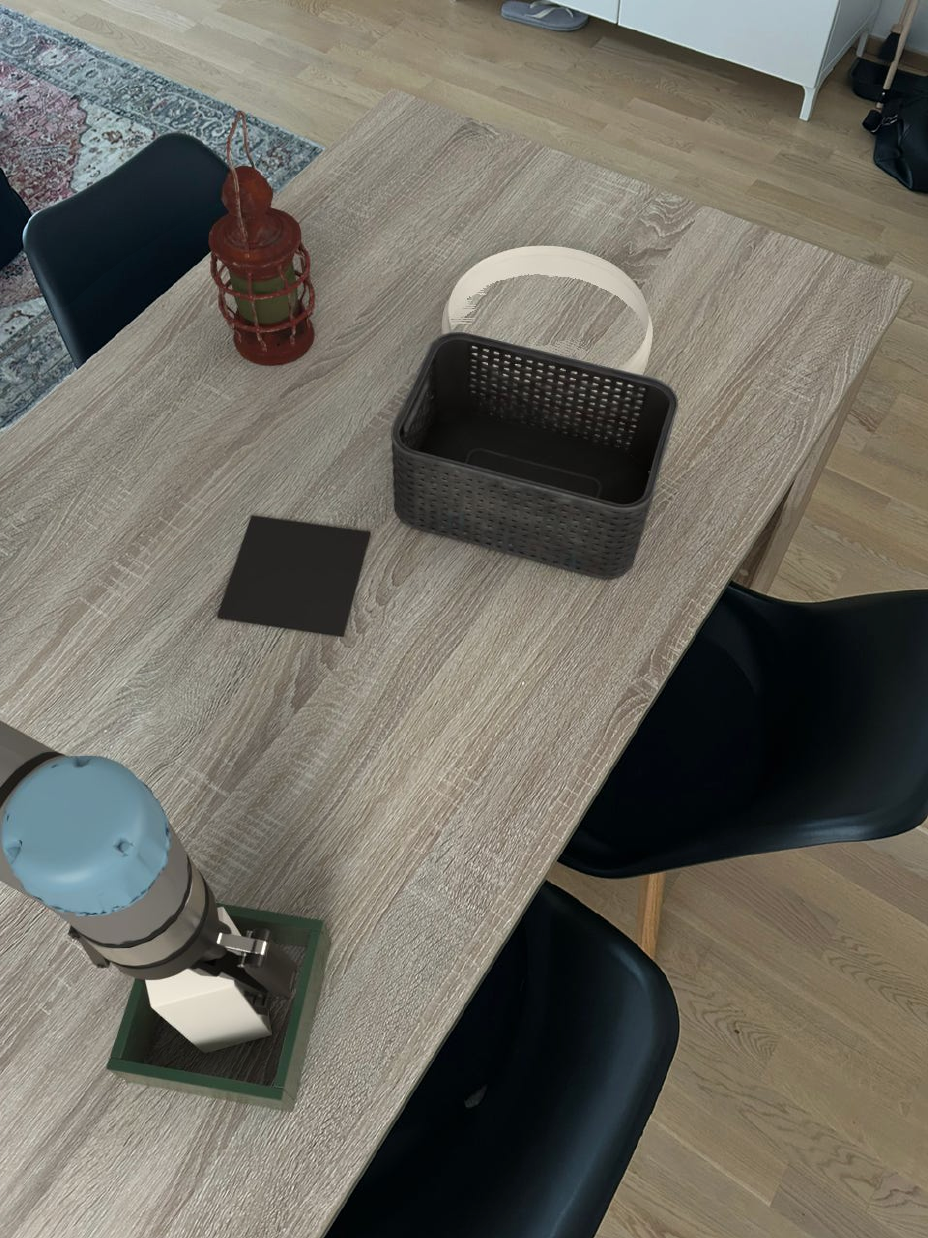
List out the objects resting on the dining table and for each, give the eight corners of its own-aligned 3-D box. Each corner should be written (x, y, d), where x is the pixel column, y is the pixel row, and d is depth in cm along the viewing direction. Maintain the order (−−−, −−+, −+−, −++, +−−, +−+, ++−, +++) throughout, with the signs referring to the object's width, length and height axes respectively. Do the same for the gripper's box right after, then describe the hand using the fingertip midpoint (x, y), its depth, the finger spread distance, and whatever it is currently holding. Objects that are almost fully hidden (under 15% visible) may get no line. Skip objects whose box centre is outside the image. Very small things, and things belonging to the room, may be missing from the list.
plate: (423, 404, 130) (422, 372, 125) (461, 263, 144) (462, 229, 139) (638, 435, 128) (646, 403, 123) (656, 288, 142) (663, 255, 137)
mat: (217, 618, 113) (216, 616, 113) (252, 517, 120) (251, 514, 120) (343, 637, 112) (343, 635, 112) (370, 533, 119) (370, 531, 119)
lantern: (238, 302, 139) (190, 86, 114) (328, 308, 139) (300, 93, 113) (218, 367, 133) (163, 153, 107) (312, 374, 132) (279, 162, 107)
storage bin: (663, 462, 125) (685, 382, 114) (627, 589, 116) (647, 515, 104) (438, 407, 130) (437, 324, 118) (385, 525, 120) (379, 447, 109)
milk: (272, 1035, 91) (228, 977, 72) (202, 1054, 90) (139, 1000, 71) (261, 966, 94) (216, 892, 75) (193, 983, 93) (130, 914, 74)
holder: (128, 1082, 88) (105, 1069, 82) (179, 916, 96) (162, 893, 90) (292, 1112, 87) (281, 1101, 81) (331, 942, 95) (323, 920, 89)
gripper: (321, 875, 66) (350, 963, 86) (12, 823, 68) (109, 922, 87) (292, 995, 63) (329, 1060, 82) (-35, 938, 64) (77, 1014, 83)
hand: (215, 988), depth 85 cm, fingers closed on milk, 8 cm apart
